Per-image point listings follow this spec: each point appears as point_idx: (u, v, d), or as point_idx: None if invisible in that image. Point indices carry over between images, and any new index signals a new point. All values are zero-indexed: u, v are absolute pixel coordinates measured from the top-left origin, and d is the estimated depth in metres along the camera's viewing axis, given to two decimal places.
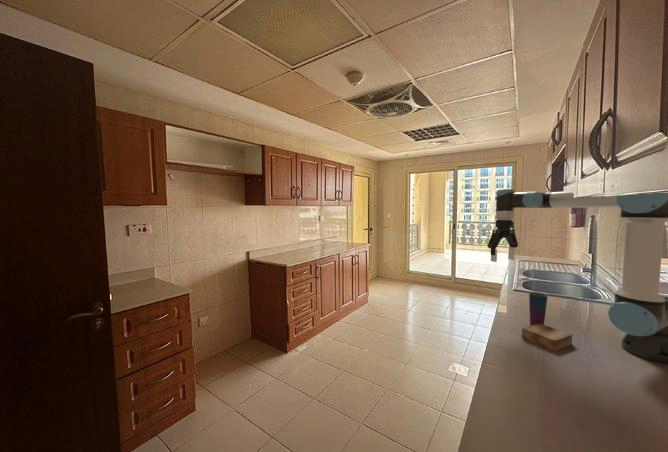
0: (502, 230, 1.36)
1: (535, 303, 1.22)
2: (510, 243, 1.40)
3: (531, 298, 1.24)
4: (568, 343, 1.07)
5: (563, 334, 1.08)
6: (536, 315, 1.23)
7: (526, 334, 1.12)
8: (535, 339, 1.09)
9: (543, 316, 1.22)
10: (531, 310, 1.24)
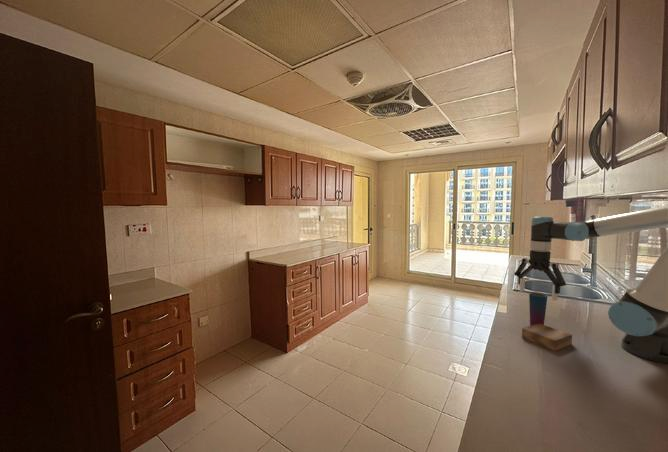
0: (531, 261, 1.25)
1: (535, 303, 1.22)
2: None
3: (531, 298, 1.24)
4: (568, 343, 1.07)
5: (563, 334, 1.08)
6: (536, 315, 1.23)
7: (526, 334, 1.12)
8: (535, 339, 1.09)
9: (543, 316, 1.22)
10: (531, 310, 1.24)
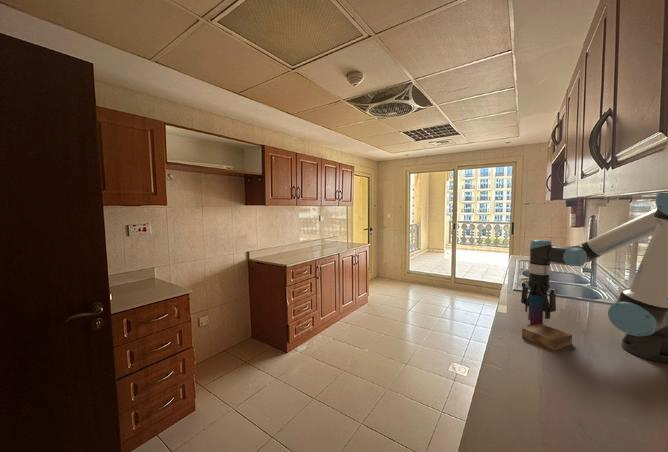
0: (530, 283, 1.26)
1: (535, 303, 1.22)
2: None
3: (531, 298, 1.24)
4: (568, 343, 1.07)
5: (563, 334, 1.08)
6: (536, 315, 1.23)
7: (526, 334, 1.12)
8: (535, 339, 1.09)
9: None
10: (531, 310, 1.24)
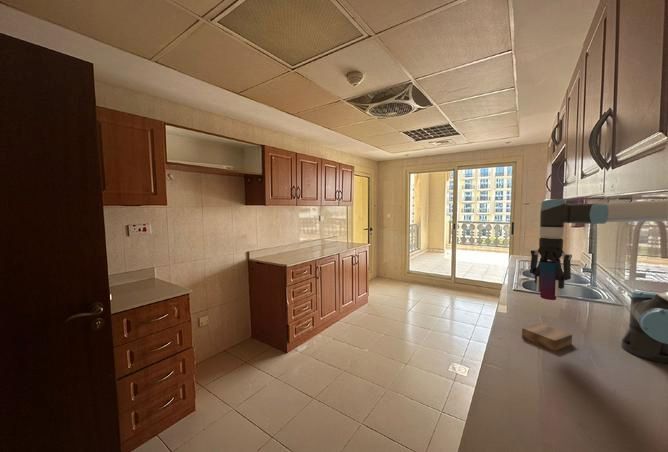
0: (541, 249, 1.11)
1: (546, 271, 1.07)
2: None
3: (542, 266, 1.09)
4: (568, 343, 1.07)
5: (563, 334, 1.08)
6: (548, 285, 1.07)
7: (526, 334, 1.12)
8: (535, 339, 1.09)
9: None
10: (542, 280, 1.09)
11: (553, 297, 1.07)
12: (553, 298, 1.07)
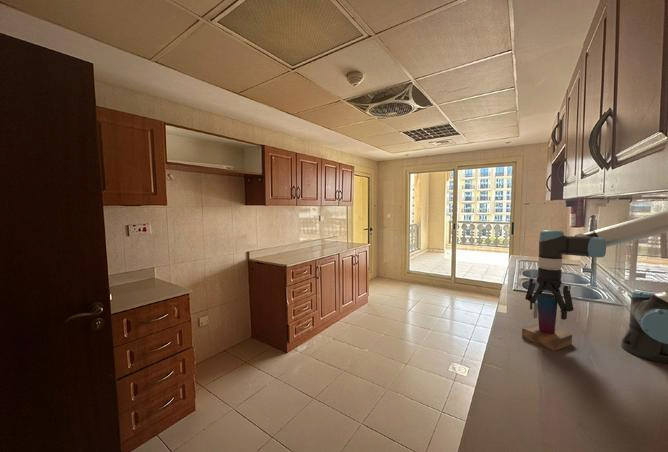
0: (540, 279, 1.11)
1: (544, 305, 1.08)
2: None
3: (539, 300, 1.10)
4: (568, 343, 1.07)
5: (563, 334, 1.08)
6: (546, 319, 1.08)
7: (526, 334, 1.12)
8: (535, 339, 1.09)
9: (554, 320, 1.08)
10: (540, 313, 1.10)
11: (552, 331, 1.08)
12: (552, 332, 1.08)
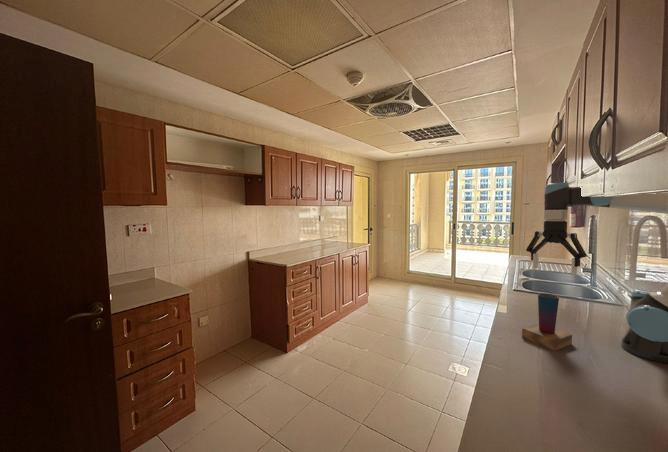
0: (546, 233, 1.13)
1: (545, 305, 1.08)
2: None
3: (540, 300, 1.10)
4: (568, 343, 1.07)
5: (563, 334, 1.08)
6: (546, 319, 1.08)
7: (526, 334, 1.12)
8: (535, 339, 1.09)
9: (554, 320, 1.08)
10: (540, 313, 1.10)
11: (552, 331, 1.08)
12: (552, 332, 1.08)
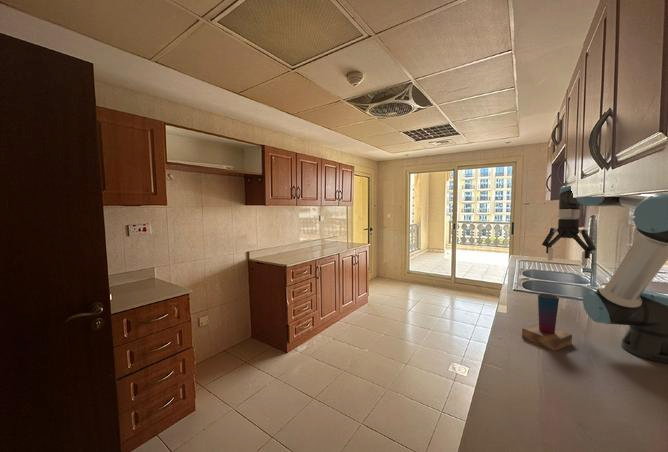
0: (560, 229, 1.30)
1: (545, 305, 1.08)
2: None
3: (540, 300, 1.10)
4: (568, 343, 1.07)
5: (563, 334, 1.08)
6: (546, 319, 1.08)
7: (526, 334, 1.12)
8: (535, 339, 1.09)
9: (554, 320, 1.08)
10: (540, 313, 1.10)
11: (552, 331, 1.08)
12: (552, 332, 1.08)
